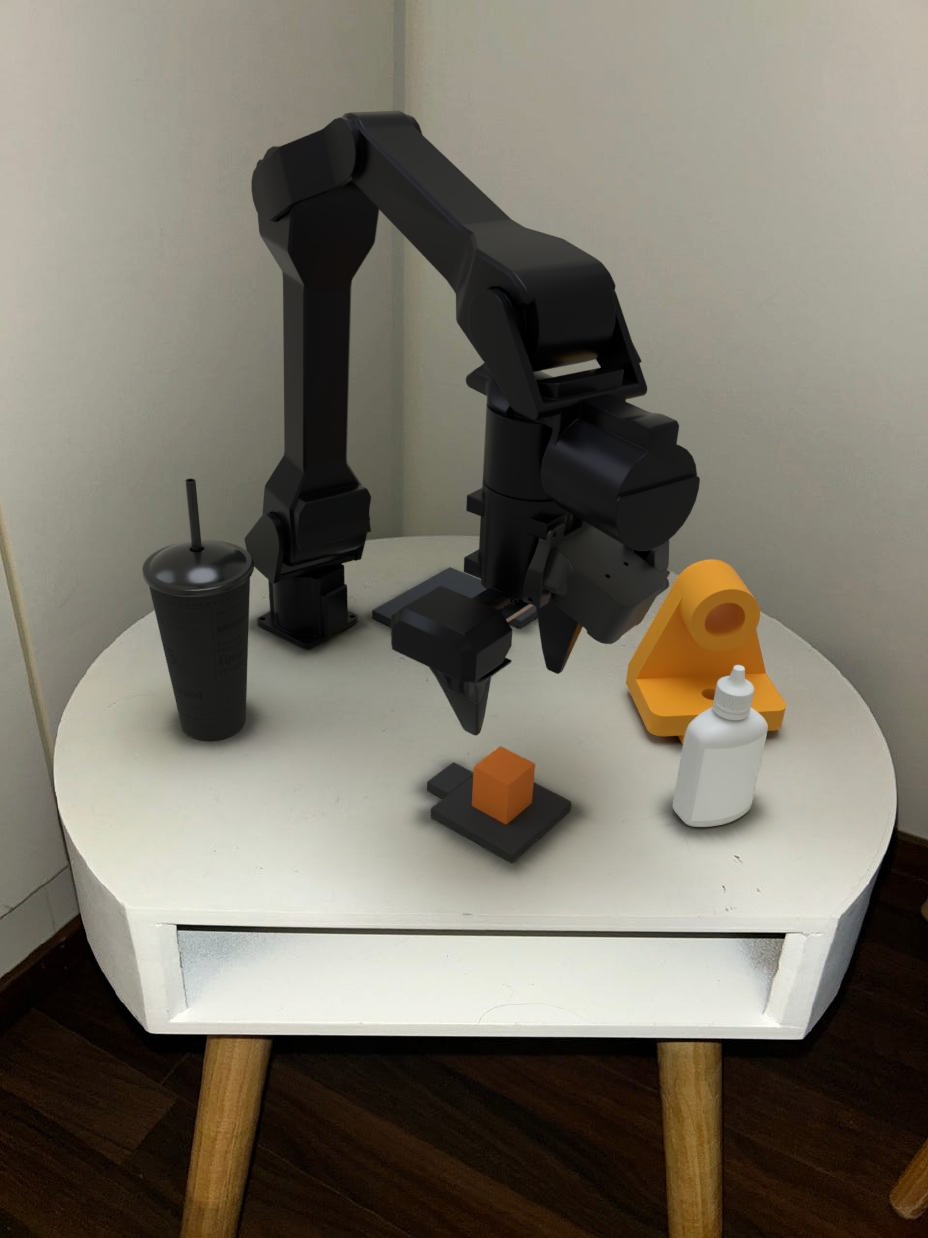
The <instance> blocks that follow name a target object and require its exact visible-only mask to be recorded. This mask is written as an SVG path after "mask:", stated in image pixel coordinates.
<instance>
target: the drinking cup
mask: <svg viewBox="0 0 928 1238" xmlns="http://www.w3.org/2000/svg"><path fill="white" fill-rule="evenodd" d="M184 484H185V492H186V503H187V514H188V522H189V532H190V533H189V534H190V540H185V541H181V542H177V543H176V542H175V543H172V544H169V545H166V546H164V547H161V548H159V549H158V550H156V551H154V552H153V553H151V554H150V555H149V556H147V558H146V559H145V561H144V562H143V564H142V566H141V572H142V578H143V580H144V582H145V583H146V584H147V586H148V587H149V591H150V596H151V600H152V601H151V602H152V605H153V609H154V614H155V618H156V622H157V625H158V627H157V628H158V631H159V635H160V639H161V644H162V648H163V651H164V652H163V653H164V657H165V662H166V666H167V670H168V674H169V679H170V683H171V687H172V692H173V695H174V700H175V704H176V708H177V709H176V710H177V713H178V717H179V722H180V726H181V729H182V731H183V732H184V733H185V734H186V735H187V736H189V737H190V738H192V739H195V740H200V741H207V742H209V741H212V742H213V741H220V740H225V739H227V738H230V737H232V736H234V735H236V734H237V733H239V732H240V731H241V730H242V729H243V728H244V726H245V724H246V720H247V693H248V691H247V689H248V661H249V660H248V657H249V656H248V655H249V626H250V624H249V623H250V597H251V595H250V593H251V577H252V575H253V573H254V570H255V567H254V561H253V558H252V556H251V554H250V553H249V552H248V551H247V549H246V548H244V547H242V546H240V545H239V544H235V543H232V542H229V541H225V540H217V539H202V534H201V524H200V523H201V522H200V513H199V504H198V503H199V502H198V501H199V500H198V491H197V483H196V478H191V477H189V478H187V479H185V480H184Z"/></svg>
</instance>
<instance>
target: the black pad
mask: <svg viewBox="0 0 928 1238" xmlns="http://www.w3.org/2000/svg"><path fill="white" fill-rule="evenodd" d="M535 769H536V763H535V762H534V761H531V760H529V759H527V758H525V757H523V756H521V755H519V754H517V753H516V752H514V751H511V750H509V749H508V748H505V747H503V746H501V745H499V746H498V747H497V748H495V750H493V751H492V752H490V753H489V754H488V755H487V756H485V757H484V758H483V759H481V760H480V761H479V762H477V763H476V764H474V765H473V771H472V770H469V769H467V768H466V767H464V766H462V765H460V764H458V763H456V762H451V763H450V764H449V765H447V766H446V767H445V768H444V769H442V770H441V771H439V772H438V773H437V774H435V775H433V777H432V778H430V779H429V780H427V782H426V791H427V792H429V793H430V794H433V795H434V796H436V797H438V798H440V799H441V800H439V801H438V802H436V804H434V805H433V806H431V808H430V818H432V819H434V820H435V821H437V822H439V823H441V824H442V825H444V826H446V827H448V828H449V829H450V830H453V831H455V832H457V833H458V834H459V835H461V836H463V837H465V838H467V839H469V840H470V841H472V842H474V843H476V844H477V845H479V846H480V847H482V848H485V849H486V850H488V851H490V852H492V853H493V854H495V855H496V856H498V857H501V858H502V859H504V860H505V861H507V862H509V863H511V864H513V863H514V862H515V861H516V860H517V859H518V858H519V857H520V856H522V855H523V854H524V853H525V852H526V851H527V850H528V849H530V848H531V847H532V846H533V845H534V844H535V843H536V842H537V841H539V839H540V838H542V837H543V836H544V835H545V834H546V833H547V832H549V831H550V830H551V829H552V828H553V827H554V826H555V825H556V824H557V823H558V822H560V820H562V819H563V818H564V817H566V815H567V814H568V813H569V812H570V811H571V810H572V801H571V800H569V799H567V798H565V797H563V796H561V795H560V794H557V793H556V792H555V791H552V790H550V789H548V788H546V787H544V786H543V785H541V784H538V783H537V782H535V773H536V771H535Z"/></svg>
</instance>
